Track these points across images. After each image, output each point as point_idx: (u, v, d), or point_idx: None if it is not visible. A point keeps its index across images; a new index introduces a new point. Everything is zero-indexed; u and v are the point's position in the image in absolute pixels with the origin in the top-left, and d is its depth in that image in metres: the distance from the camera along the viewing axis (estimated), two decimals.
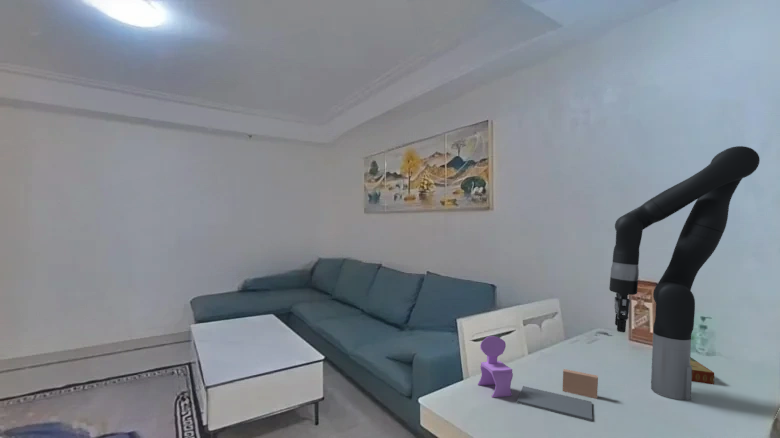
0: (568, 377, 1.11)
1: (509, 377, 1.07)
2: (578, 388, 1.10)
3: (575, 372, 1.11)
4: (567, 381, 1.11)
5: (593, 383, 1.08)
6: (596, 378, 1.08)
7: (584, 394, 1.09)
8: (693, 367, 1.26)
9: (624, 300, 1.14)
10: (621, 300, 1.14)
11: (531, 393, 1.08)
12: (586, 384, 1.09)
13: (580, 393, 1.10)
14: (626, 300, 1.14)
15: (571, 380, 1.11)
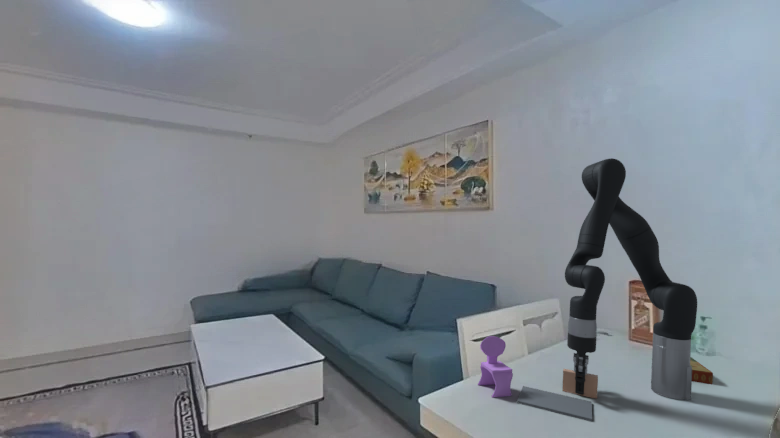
0: (568, 377, 1.11)
1: (509, 377, 1.07)
2: None
3: None
4: (567, 381, 1.11)
5: (593, 383, 1.08)
6: (596, 378, 1.08)
7: (584, 394, 1.09)
8: (692, 367, 1.26)
9: (580, 367, 1.05)
10: (577, 367, 1.06)
11: (531, 393, 1.08)
12: (586, 384, 1.09)
13: None
14: (582, 367, 1.05)
15: (571, 380, 1.11)
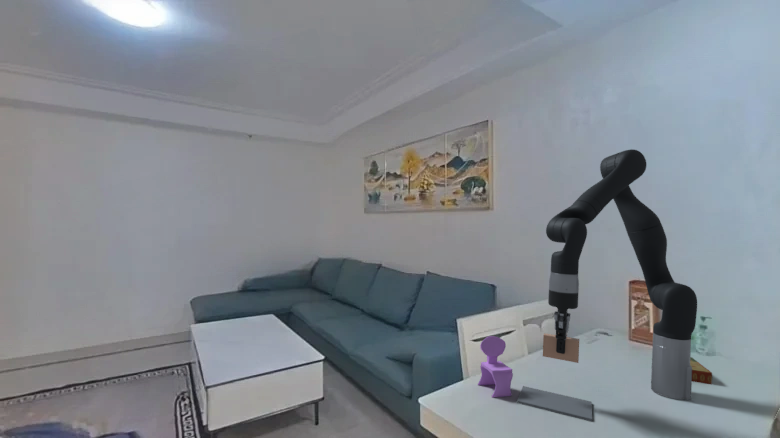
0: (548, 341, 1.06)
1: (509, 377, 1.07)
2: None
3: None
4: (547, 345, 1.06)
5: (574, 346, 1.03)
6: (577, 341, 1.03)
7: (565, 358, 1.04)
8: None
9: (560, 324, 1.00)
10: (557, 324, 1.00)
11: (531, 393, 1.08)
12: (567, 348, 1.04)
13: (561, 357, 1.04)
14: (563, 323, 1.00)
15: (551, 344, 1.05)
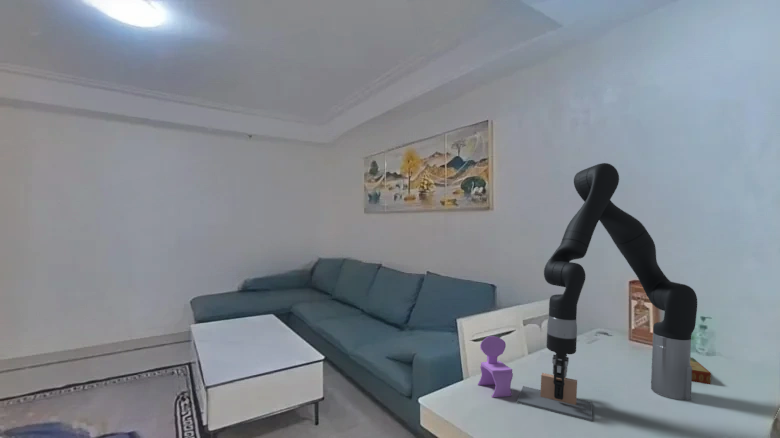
0: (546, 381, 1.06)
1: (509, 377, 1.07)
2: None
3: None
4: (545, 386, 1.06)
5: (572, 388, 1.02)
6: (575, 383, 1.02)
7: (563, 399, 1.03)
8: None
9: (559, 368, 0.99)
10: (555, 368, 1.00)
11: (531, 393, 1.08)
12: (565, 389, 1.03)
13: None
14: (561, 367, 0.99)
15: (549, 385, 1.05)
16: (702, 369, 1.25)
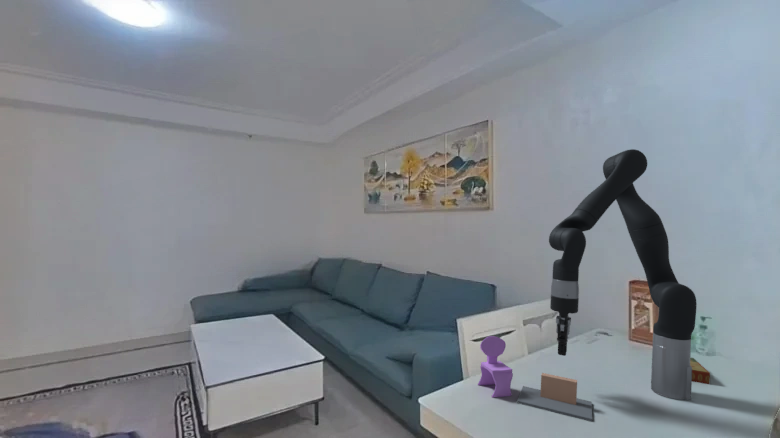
0: (546, 381, 1.06)
1: (509, 377, 1.07)
2: (556, 393, 1.04)
3: (554, 376, 1.06)
4: (545, 386, 1.06)
5: (572, 388, 1.02)
6: (575, 383, 1.02)
7: (563, 399, 1.03)
8: None
9: (562, 326, 1.07)
10: (559, 326, 1.07)
11: (531, 393, 1.08)
12: (565, 389, 1.03)
13: (558, 398, 1.04)
14: (564, 326, 1.06)
15: (549, 385, 1.05)
16: (701, 369, 1.25)
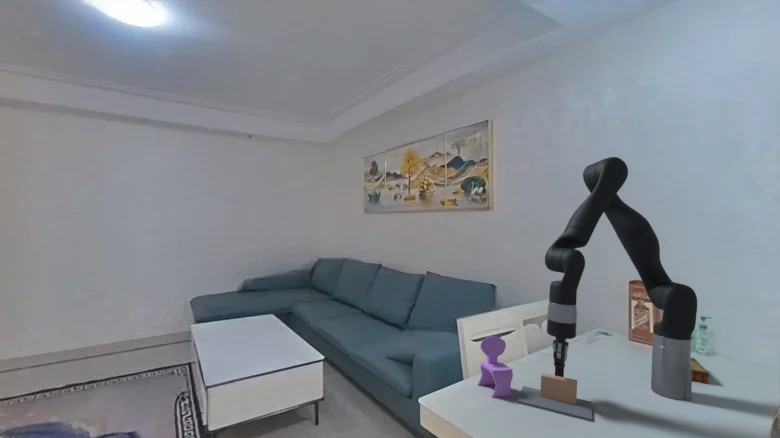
0: (546, 382, 1.05)
1: (509, 377, 1.07)
2: (556, 393, 1.04)
3: (554, 376, 1.05)
4: (545, 386, 1.05)
5: (572, 388, 1.02)
6: (575, 383, 1.02)
7: (563, 400, 1.03)
8: None
9: (558, 355, 1.02)
10: (555, 355, 1.02)
11: (531, 393, 1.08)
12: (565, 389, 1.03)
13: (558, 398, 1.04)
14: (560, 355, 1.02)
15: (549, 385, 1.05)
16: (700, 369, 1.25)
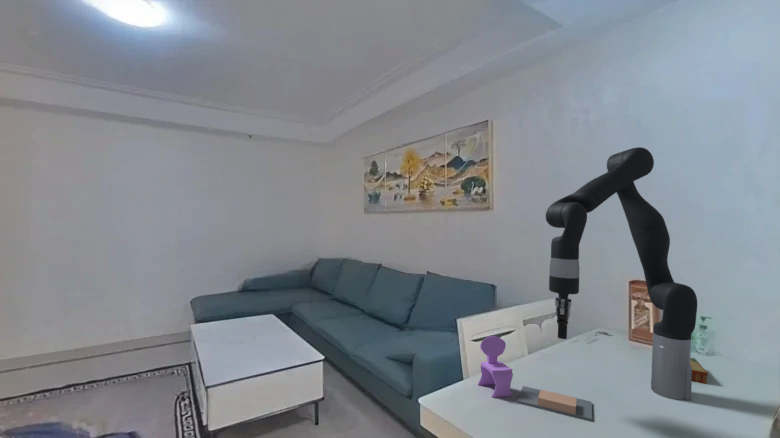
0: None
1: (509, 377, 1.07)
2: None
3: (551, 405, 0.99)
4: None
5: None
6: (574, 413, 0.97)
7: None
8: None
9: (562, 310, 0.99)
10: (558, 310, 0.99)
11: (531, 393, 1.08)
12: None
13: None
14: (564, 310, 0.98)
15: None
16: (699, 369, 1.25)
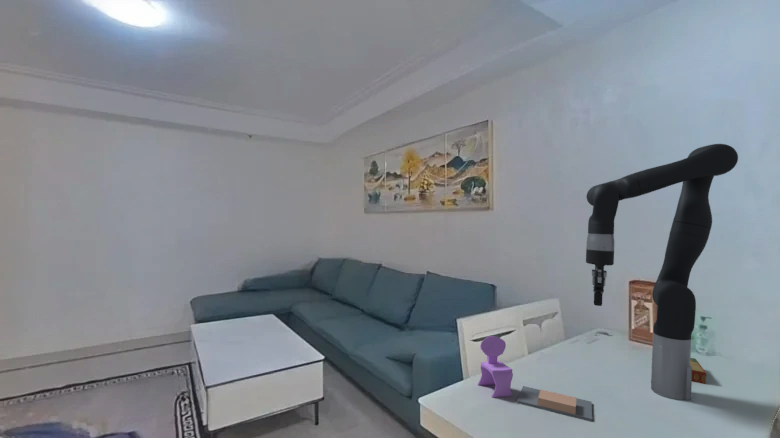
0: None
1: (509, 377, 1.07)
2: None
3: (551, 405, 0.99)
4: None
5: None
6: (574, 413, 0.97)
7: None
8: None
9: (599, 279, 1.11)
10: (596, 279, 1.11)
11: (531, 393, 1.08)
12: None
13: None
14: (601, 278, 1.11)
15: None
16: (698, 369, 1.25)
